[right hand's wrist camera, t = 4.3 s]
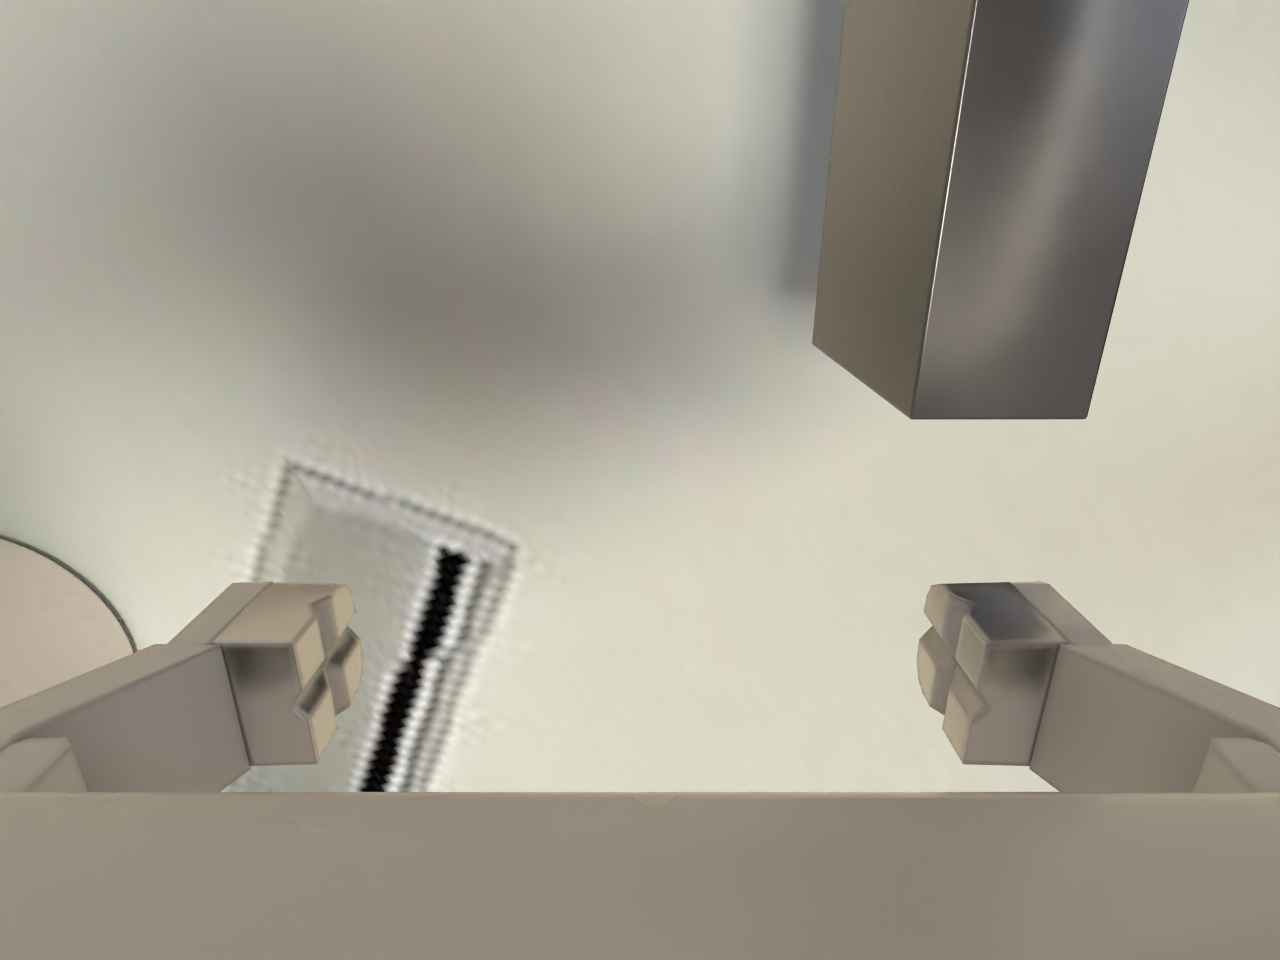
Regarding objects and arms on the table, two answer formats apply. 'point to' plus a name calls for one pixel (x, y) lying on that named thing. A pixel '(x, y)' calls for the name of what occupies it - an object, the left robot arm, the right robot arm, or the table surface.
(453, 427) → the table surface
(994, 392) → the bar
